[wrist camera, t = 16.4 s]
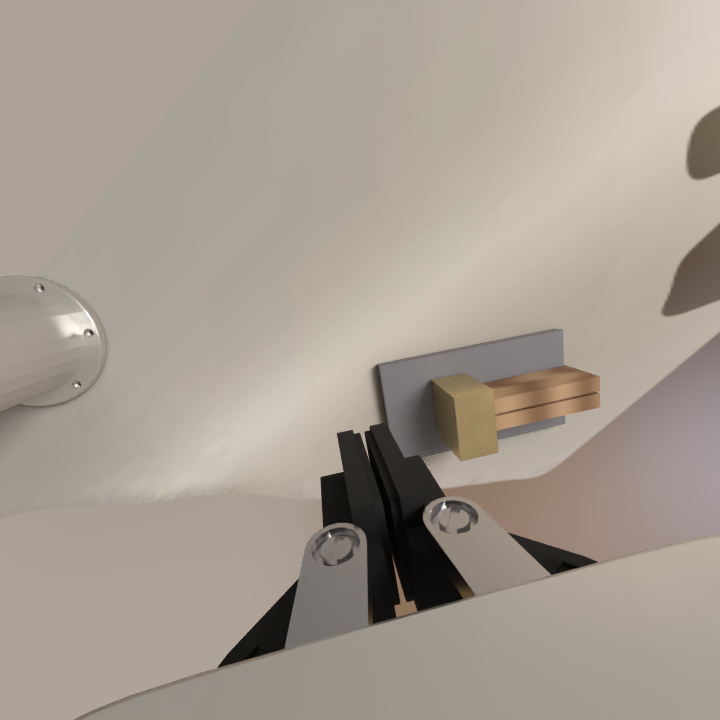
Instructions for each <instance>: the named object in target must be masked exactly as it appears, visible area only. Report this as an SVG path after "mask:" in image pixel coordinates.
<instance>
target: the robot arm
mask: <svg viewBox="0 0 720 720" xmlns="http://www.w3.org/2000/svg"><path fill="white" fill-rule="evenodd" d="M92 331H93V332H94V334H93V333H92ZM105 358H106V341H105V336H104V333H103V330H102V327H101V325H100V323H99V321H98V319H97V317H96V316H95V314H94V313H93V312H92V310H91V309H90V308H89V307H88V305H87V304H86V303H85V302H83V301H82V300H81V299H80V298H79V297H78V296H77V295H75V294H74V293H72V292H71V291H69V290H68V289H66V288H65V287H63V286H61V285H58V284H56V283H54V282H52V281H48V280H45V279H41V278H38V277H29V276H4V277H0V412H1V411H3V410H5V409H8V408H10V407H12V406H15V405H17V404H22V405H27V406H48V405H55V404H59V403H62V402H66V401H68V400H70V399H72V398H74V397H77V396H78V395H80V394H81V393H83V392H85V391H86V390H87V389H88V388H89V387H90V386H92V385H93V384H94V383H95V381H96V380H97V378H98V377H99V375H100V374H101V372H102V369H103V366H104V364H105ZM337 437H338V442H339V448H340V453H341V459H342V465H343V470H344V472H341V473H336V474H332V475H328V476H323V477H321V496H322V512H323V529H320V530H319V531H318V532H317V533H315V534H314V535H313V536H312V537H311V539H310V540H309V541H308V543H307V545H306V548H305V551H304V556H303V561H302V566H301V571H300V576H299V579H298V580H297V581H296V582H295V583H294V584H293V585H292V586H291V587H290V588H289V589H288V590H287V592H286V593H285V594H284V595H283V596H282V597H281V598H280V599H279V600H278V601H277V602H276V603H275V604H274V606H272V607H271V609H270V610H269V611H268V612H267V613H266V614H265V615H264V616H263V617H262V618H261V619H260V620H259V621H258V622H257V623H256V624H255V626H254V627H253V628H252V629H251V630H250V631H249V632H248V633H247V634H246V635H245V636H244V637H243V638H242V639H241V640H240V641H239V643H238V644H237V645H236V646H235V647H234V648H233V649H232V650H231V651H230V652H229V653H228V654H227V656H226V657H225V658H224V660H223V661H222V662H221V664H220V665H219V666H218V668H216V669H213V670H209V671H206V672H202V673H199V674H195V675H192V676H189V677H186V678H183V679H180V680H177V681H174V682H171V683H168V684H165V685H161V686H158V687H155V688H153V689H149V690H146V691H143V692H140V693H137V694H134V695H130V696H128V697H125V698H123V699H120V700H117V701H115V702H113V703H110V704H108V705H105V706H103V707H100V708H98V709H95V710H93V711H90V712H88V713H86V714H84V715H82V716H80V717H78V718H76V719H74V720H720V534H719V535H712V536H704V537H700V538H695V539H691V540H687V541H682V542H678V543H673V544H669V545H665V546H660V547H656V548H652V549H647V550H643V551H640V552H636V553H633V554H629V555H625V556H621V557H617V558H614V559H610V560H606V561H602V562H597V561H594V560H592V559H590V558H587V557H584V556H582V555H578V554H575V553H572V552H569V551H565V550H562V549H559V548H556V547H553V546H549V545H546V544H543V543H540V542H536V541H533V540H530V539H527V538H524V537H520V536H517V535H514V534H511V533H507V532H506V531H505V530H504V529H503V528H502V527H501V526H500V525H499V524H498V523H497V522H496V521H495V520H494V519H493V518H492V517H490V516H489V515H488V514H487V513H486V512H485V511H484V510H483V509H482V508H481V507H480V506H479V505H478V504H476V503H475V502H473V501H471V500H468V499H466V498H462V497H457V496H451V497H446V496H445V495H444V493H443V492H442V490H441V488H440V487H439V485H438V484H437V482H436V480H435V479H434V477H433V476H432V474H431V473H430V471H429V469H428V468H427V466H426V465H425V463H424V461H423V460H422V458H421V457H420V456H419V455H415V456H411V457H406V458H404V456H403V454H402V452H401V450H400V448H399V446H398V445H397V443H396V441H395V439H394V437H393V435H392V433H391V432H390V430H389V428H388V426H387V424H386V423H382V424H377V425H373V426H370V431H365V438H366V444H367V449H368V455H369V459H368V456H367V453H366V450H365V447H364V444H363V441H362V438H361V435H360V433H356V434H354V433H353V430H350V431H345V432H341V433H337ZM369 461H370V462H369ZM392 556H393V558H392ZM393 559H394V562H395V566H396V569H397V573H398V576H399V579H400V583H401V586H402V589H403V592H404V596H405V599H406V601H407V602H409V601H413V600H414V602H415V605H416V608H417V611H418V612H414V613H411V614H407V615H404V616H400V617H396V613H395V607H394V606H395V605H398V604H400V598H399V593H398V587H397V582H396V576H395V570H394V564H393Z"/></svg>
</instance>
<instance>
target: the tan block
mask: <svg viewBox="0 0 720 720" xmlns="http://www.w3.org/2000/svg"><path fill="white" fill-rule="evenodd" d="M432 388H433V397H434V405H435V413H436V421H437V430H438V435H439V436H440V437H441V438H442V440H443V441H444V442H445V443H446V444H447V445H448V447H449V448H450V449H451V450H452V451H453V453H454V454H455V455H456V456H457V457H458V459H459V460H460V461H464V460H468V459H473V458H477V457H481V456H486V455H490V454H494V453H498V442H497V429H496V416H495V402H494V390H493V389H492V388H490V387H488V386H487V385H485V384H483V383H482V382H480V381H478V380H476V379H475V378H473V377H471V376H470V375H468V374H466V373H462V374H457V375H452V376H447V377H442V378H438V379H433V380H432Z"/></svg>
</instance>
